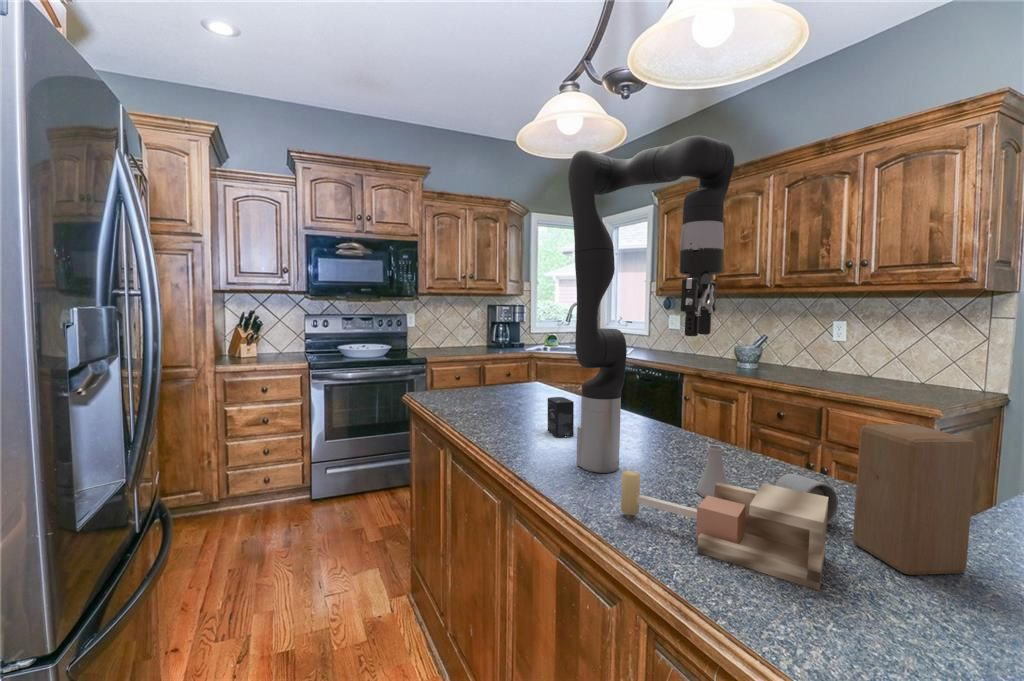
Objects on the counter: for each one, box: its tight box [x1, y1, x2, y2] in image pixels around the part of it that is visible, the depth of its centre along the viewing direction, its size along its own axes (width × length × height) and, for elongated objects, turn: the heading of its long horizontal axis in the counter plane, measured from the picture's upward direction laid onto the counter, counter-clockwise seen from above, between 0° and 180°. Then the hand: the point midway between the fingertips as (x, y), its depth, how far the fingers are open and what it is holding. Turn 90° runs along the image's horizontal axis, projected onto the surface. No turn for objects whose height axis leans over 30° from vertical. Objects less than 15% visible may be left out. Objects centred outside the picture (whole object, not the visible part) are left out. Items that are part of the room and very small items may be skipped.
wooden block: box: [852, 423, 977, 576], centre depth 71 cm, size 10×10×20 cm
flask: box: [694, 444, 730, 498], centre depth 96 cm, size 7×7×10 cm
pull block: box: [620, 470, 746, 544], centre depth 80 cm, size 20×6×7 cm, turn 53°
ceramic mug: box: [773, 473, 839, 525], centre depth 86 cm, size 11×8×8 cm
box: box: [547, 396, 575, 438], centre depth 141 cm, size 8×6×11 cm
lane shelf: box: [696, 482, 828, 591], centre depth 72 cm, size 16×11×10 cm
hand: (697, 335), depth 88 cm, fingers open, 8 cm apart
